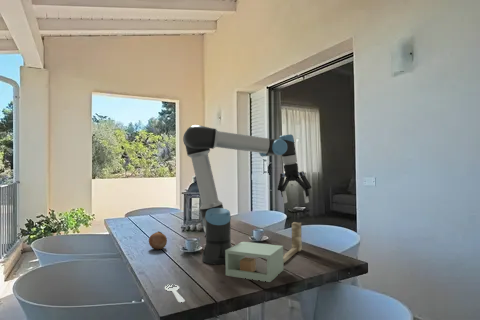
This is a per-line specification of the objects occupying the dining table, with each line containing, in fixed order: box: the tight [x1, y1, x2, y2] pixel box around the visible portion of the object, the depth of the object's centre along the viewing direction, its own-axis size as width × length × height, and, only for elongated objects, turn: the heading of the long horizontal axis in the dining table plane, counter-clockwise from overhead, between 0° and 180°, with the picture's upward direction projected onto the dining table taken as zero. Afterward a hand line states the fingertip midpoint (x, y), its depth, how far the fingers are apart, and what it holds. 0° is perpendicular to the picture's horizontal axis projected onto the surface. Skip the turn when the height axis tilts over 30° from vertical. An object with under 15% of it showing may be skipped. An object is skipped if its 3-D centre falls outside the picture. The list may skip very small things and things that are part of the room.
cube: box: [239, 256, 257, 272], centre depth 143 cm, size 5×5×5 cm
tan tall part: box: [283, 221, 303, 265], centre depth 165 cm, size 7×27×14 cm, turn 154°
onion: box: [148, 231, 168, 251], centre depth 180 cm, size 10×9×10 cm
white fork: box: [164, 283, 186, 304], centre depth 120 cm, size 5×18×1 cm, turn 25°
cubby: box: [225, 241, 284, 283], centre depth 141 cm, size 19×16×10 cm
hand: (296, 202), depth 182 cm, fingers open, 13 cm apart
